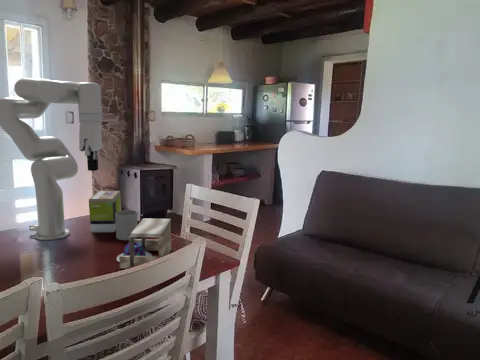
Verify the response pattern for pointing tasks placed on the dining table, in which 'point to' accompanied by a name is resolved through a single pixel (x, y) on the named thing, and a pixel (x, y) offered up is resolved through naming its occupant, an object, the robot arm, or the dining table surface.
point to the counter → (148, 241)
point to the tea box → (104, 210)
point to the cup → (125, 223)
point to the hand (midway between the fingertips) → (93, 170)
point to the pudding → (137, 249)
